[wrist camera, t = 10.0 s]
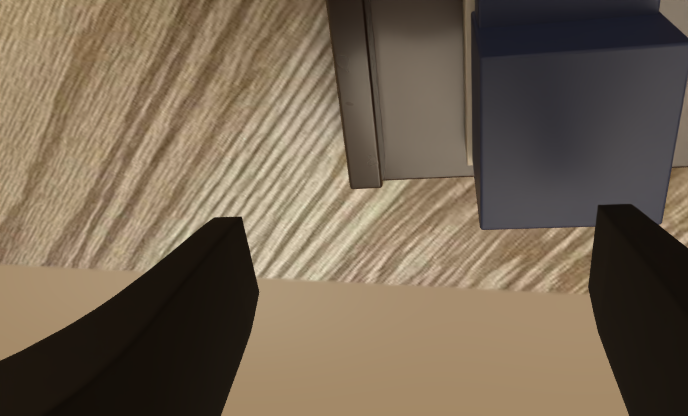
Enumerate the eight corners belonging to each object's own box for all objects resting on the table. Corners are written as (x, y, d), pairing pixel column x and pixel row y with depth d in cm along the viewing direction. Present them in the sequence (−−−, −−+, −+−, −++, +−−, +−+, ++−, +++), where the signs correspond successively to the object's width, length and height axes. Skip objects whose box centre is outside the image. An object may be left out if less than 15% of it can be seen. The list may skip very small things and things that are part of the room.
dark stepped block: (618, 139, 19) (668, 230, 15) (465, 147, 20) (474, 236, 16) (653, -146, 15) (735, -126, 11) (460, -123, 16) (470, -97, 12)
